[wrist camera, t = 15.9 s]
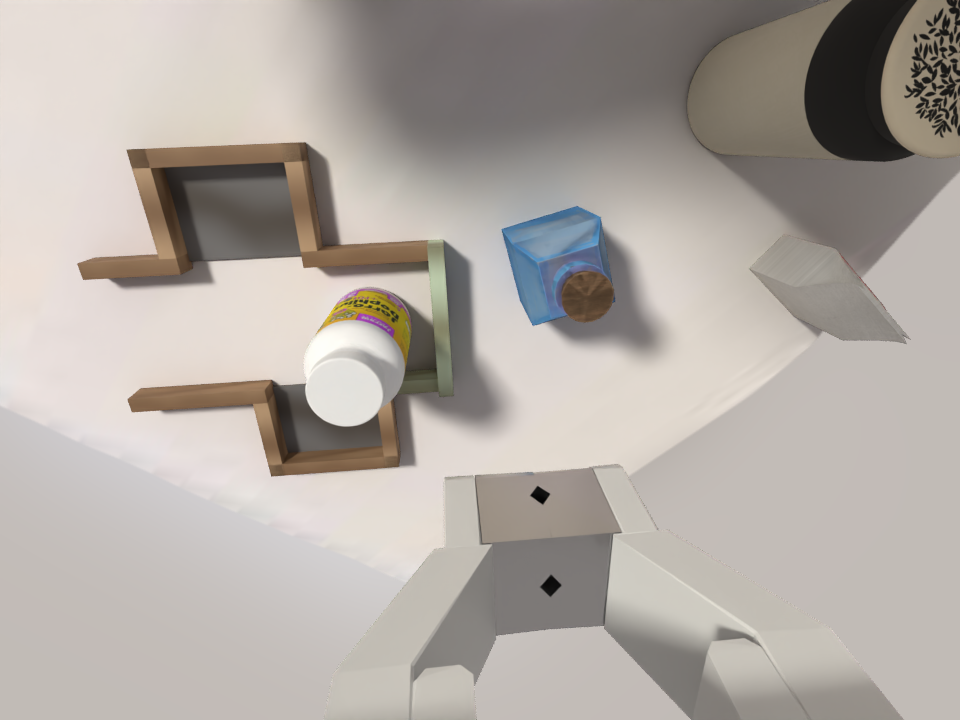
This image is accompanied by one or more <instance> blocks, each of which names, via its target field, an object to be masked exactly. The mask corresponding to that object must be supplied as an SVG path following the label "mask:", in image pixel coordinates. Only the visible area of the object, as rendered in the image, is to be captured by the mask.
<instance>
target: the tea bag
mask: <svg viewBox="0 0 960 720" xmlns="http://www.w3.org/2000/svg"><path fill="white" fill-rule="evenodd" d="M749 269H750V270H751V271H752V272H753V273H754V274H755V276H756V277H757V278H758V279H759V280H760V281H761V282H762V283H763V284H764V285H765V286H766V287H767V288H768V289H769V290H770V291H771V293H772V294H773V295H774V296H775V297H776V298H777V299H778V300H779V301H780V302H781V303H782V304H783V305H784V306H785V307H786V308H787V310H788V311H789V312H790V313H791V314H792V315H793V316H794V317H796V318H798V319H801V320H803V321H805V322H807V323H809V324H811V325H813V326H815V327H817V328H819V329H821V330H823V331H825V332H827V333H829V334H831V335H833V336H835V337H837V338H839V339H841V340H880V341H895V342H900V343H906V341H905V339H904V337H903V336H905V337H906V338H908V339H910V338H909V337H908V336H907V335H906V333H905V332H904V331H903V330H902V329H901V328H900V326H899V325H898V324H897V323H896V322H895V320H894V319H893V318H892V317H891V316H890V315H889V313H888V312H887V311H886V309H885V307H884V306H883V304H882V303H881V302H880V301H879V300H878V298H877V297H876V296H875V295H874V294H873V292H872V291H871V290H870V289H869V288H868V287H867V285H866V284H865V283H864V282H863V281H862V279H861V278H860V277H859V276H858V275H857V273H856V272H855V271H854V270H853V269H852V267H851V266H850V265H849V264H848V263H847V261H846V260H845V259H844V258H843V257H842V255H841V254H840V253H839V252H838V251H837V249H836V248H832V247H828V246H825V245H821V244H817V243H813V242H810V241H806V240H802V239H799V238H795V237H791V236H788V235H783V236H782V237H781V238H780V239H779V240H778V241H777V242H776V243H775V244H774V245H773V246H772V247H771V248H770V249H769V250H767V251H766V252H765V253H764V254H763V255H762V256H761V257H760V258H759V259H758V260H757V261H756V262H755V263H754V264H753V265H752V266H751V267H750V268H749Z"/></svg>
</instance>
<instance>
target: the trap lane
mask: <svg viewBox="0 0 960 720" xmlns="http://www.w3.org/2000/svg"><path fill="white" fill-rule="evenodd" d="M127 153H128V157H129V160H130V163H131V167H132V170H133V173H134V177H135V180H136V183H137V186H138V190H139V193H140V196H141V200H142V203H143V206H144V210H145V213H146V216H147V220H148V223H149V226H150V230H151V233H152V236H153V240H154V243H155V246H156V250H157V253H158V254H157V255H138V256H119V257H100V258H92V259H90V260H87V261H84V262H81V263H78V267H79V270H80V273H81V275H82V278H83V280H89V279H107V278H126V277H144V276H162V275H181V274H183V273H185V272H187V271H189V270H191V269H193V266H192V263H191V261H203V260H221V259H240V258H259V257H278V256H297V255H301V256H302V261H303V267H304V268H310V267H329V266H347V265H365V264H384V263H402V262H421V261H428V265H429V277H430V289H431V302H432V314H433V326H434V339H435V351H436V363H437V369H430V370H415V371H405V374H404V378H403V382H402V385H401V387H400V389H399V391H398V393H397V394H410V393H424V392H439V397H446V396H454V395H453V377H452V362H451V347H450V332H449V317H448V302H447V288H446V273H445V258H444V243H443V240H426V241H407V242H388V243H369V244H350V245H330V246H323V243H322V237H321V231H320V225H319V219H318V213H317V207H316V201H315V195H314V189H313V183H312V177H311V171H310V165H309V159H308V153H307V147H306V143H276V144H252V145H228V146H204V147H180V148H156V149H131V150H127ZM305 386H306V384H297V385H282V386H273V382H272V380H262V381H247V382H232V383H216V384H201V385H186V386H170V387H155V388H141V389H140V390H138V391H137V392H136V393H135V394H133V395H132V396H131V397H130V398H129V399H127V400H128V403H129V405H130V408H131V411H132V412H144V411H159V410H173V409H188V408H203V407H218V406H232V405H247V404H253V407H254V410H255V414H256V418H257V422H258V426H259V430H260V434H261V438H262V442H263V446H264V450H265V454H266V458H267V462H268V465H269V469H270V473H271V476H284V475H297V474H310V473H324V472H337V471H350V470H364V469H377V468H390V467H399V462H400V446H399V438H398V430H397V422H396V414H395V406H394V398H393V399H392V400H391V401H390V402H389V403H388V404H386V405H385V406H383V407H382V408H380V410H379V411H378V413H377V414H376V415H375V416H374V417H373V418H372V419H370V420H369V421H367V422H365V423H363V424H360V425H357V426H338V425H334V424H331V423H329V422H326V421H325V420H323V419H322V418H320V417H319V416H318V415H317V414H316V413H315V412H314V411H313V410H312V409H311V407H310V405H309V404H308V401H307V398H306V392H305Z"/></svg>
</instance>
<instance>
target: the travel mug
mask: <svg viewBox="0 0 960 720" xmlns="http://www.w3.org/2000/svg"><path fill="white" fill-rule="evenodd" d="M687 112H688V119H689V123H690V126H691V129H692V131H693V133H694V135H695V136H696V138H697V139H698V140H699V142H700V143H701V144H702V145H704V146H705V147H706V148H708V149H709V150H711V151H713V152H716V153H719V154H724V155H743V156H765V157H788V158H810V159H833V160H856V161H880V162H885V161H894V160H899V159H902V158H906V157H909V156H911V155H914V154H918V155H921V156H924V157H929V158H950V157H956V156H960V0H830V1H827V2H824V3H821V4H819V5H816V6H813V7H810V8H808V9H805V10H802V11H799V12H797V13H794V14H791V15H788V16H786V17H783V18H780V19H777V20H775V21H772V22H769V23H766V24H764V25H761V26H758V27H755V28H753V29H750V30H747V31H744V32H742V33H739V34H736V35H734V36H731V37H729V38H727V39H725V40H724V41H722V42H721V43H719V44H718V45H717V46H715V47H714V48H713V49H712V50H711V51H710V52H709V53H708V54H707V55H706V57H705V58H704V59H703V61H702V62H701V63H700V65H699V67H698V68H697V70H696V72H695V74H694V77H693V79H692V82H691V85H690V88H689V93H688V101H687Z"/></svg>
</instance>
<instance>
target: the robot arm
mask: <svg viewBox="0 0 960 720" xmlns="http://www.w3.org/2000/svg"><path fill="white" fill-rule="evenodd" d="M443 498H444V548H439V549H434V550H433V551H432V553H431V554H430V555H429V556H428V558H427V559H426V560H425V561H424V562H423V564H422V565H421V566H420V567H419V569H418V570H417V571H416V572H415V573H414V575H413V576H412V577H411V578H410V580H409V581H408V582H407V583H406V585H405V586H404V587H403V588H402V590H401V591H400V592H399V593H398V594H397V596H396V597H395V598H394V599H393V601H392V602H391V603H390V604H389V605H388V607H387V608H386V609H385V610H384V612H383V613H382V614H381V615H380V616H379V618H378V619H377V620H376V621H375V623H374V624H373V625H372V626H371V627H370V629H369V630H368V631H367V632H366V634H365V635H364V636H363V637H362V639H361V640H360V641H359V642H358V643H357V645H356V646H355V647H354V648H353V650H352V651H351V652H350V653H349V654H348V656H347V657H346V658H345V659H344V661H343V662H342V663H341V664H340V666H339V667H338V668H337V669H336V671H335V672H334V673H333V677H332V682H331V686H330V691H329V696H328V701H327V706H326V711H325V715H324V720H477V719H476V705H475V691H474V686H475V684H476V682H477V679H478V677H479V675H480V673H481V670H482V668H483V666H484V664H485V662H486V660H487V657H488V655H489V653H490V651H491V649H492V647H493V644H494V642H495V640H496V636H497V635H505V634H513V633H521V632H529V631H538V630H546V629H549V628H550V629H558V628H559V629H560V628H576V627H592V626H604V629H605V630H606V631H607V632H608V633H609V634H610V635H611V636H612V637H613V638H614V639H615V640H616V641H617V642H618V643H619V644H620V646H621V647H622V648H623V649H624V650H625V651H626V652H627V653H628V654H629V655H630V656H631V657H632V658H633V659H634V660H635V661H636V662H637V663H638V664H639V665H640V667H641V668H642V669H643V670H644V671H645V672H646V673H647V674H648V675H649V676H650V677H651V678H652V679H653V680H654V681H655V682H656V683H657V684H658V685H659V686H660V687H661V689H663V691H664V692H665V693H666V694H667V695H668V696H669V697H670V698H671V699H672V700H673V701H674V702H675V703H676V704H677V705H678V706H679V707H680V708H681V709H682V710H683V712H685V713H686V715H687V716H688V717H689V718H690V719H691V720H903V718H902V717H901V716H900V714H899V713H898V712H897V711H896V709H895V708H894V707H893V706H892V704H891V703H890V702H889V701H888V700H887V698H886V697H885V696H884V694H883V693H882V692H881V691H880V689H879V688H878V687H877V686H876V684H875V683H874V682H873V681H872V680H871V678H870V677H869V676H868V674H867V673H866V672H865V671H864V669H863V668H862V667H861V666H860V664H859V663H858V662H857V661H856V660H855V658H854V657H853V656H852V654H851V653H850V652H849V651H848V650H847V648H846V647H845V646H844V644H843V643H842V642H841V641H840V639H839V638H838V637H837V636H836V634H835V633H834V632H833V631H832V629H831V628H830V627H828V626H826V625H824V624H823V623H821V622H820V621H818V620H816V619H815V618H813V617H811V616H810V615H808V614H806V613H805V612H803V611H801V610H800V609H798V608H796V607H795V606H793V605H792V604H790V603H788V602H787V601H785V600H783V599H782V598H780V597H778V596H777V595H775V594H773V593H772V592H770V591H768V590H767V589H765V588H763V587H762V586H760V585H759V584H757V583H755V582H754V581H752V580H750V579H749V578H747V577H745V576H744V575H742V574H740V573H739V572H737V571H735V570H734V569H732V568H730V567H729V566H727V565H725V564H724V563H722V562H721V561H719V560H717V559H715V558H714V557H712V556H710V555H709V554H707V553H706V552H704V551H702V550H701V549H699V548H697V547H696V546H694V545H692V544H691V543H689V542H687V541H686V540H684V539H682V538H681V537H679V536H678V535H676V534H674V533H673V532H671V531H669V530H658V528H657V526H656V525H655V523H654V521H653V519H652V518H651V516H650V514H649V512H648V511H647V509H646V507H645V505H644V504H643V502H642V500H641V498H640V497H639V495H638V493H637V491H636V490H635V488H634V486H633V484H632V483H631V481H630V479H629V477H628V476H627V474H626V472H625V470H624V469H623V467H622V466H620V465H619V464H613V465H603V466H594V467H589V468H583V469H571V470H558V471H545V472H523V473H504V474H486V475H475V478H474V476H473V475H470V476H455V477H445V478H444V482H443Z"/></svg>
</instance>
